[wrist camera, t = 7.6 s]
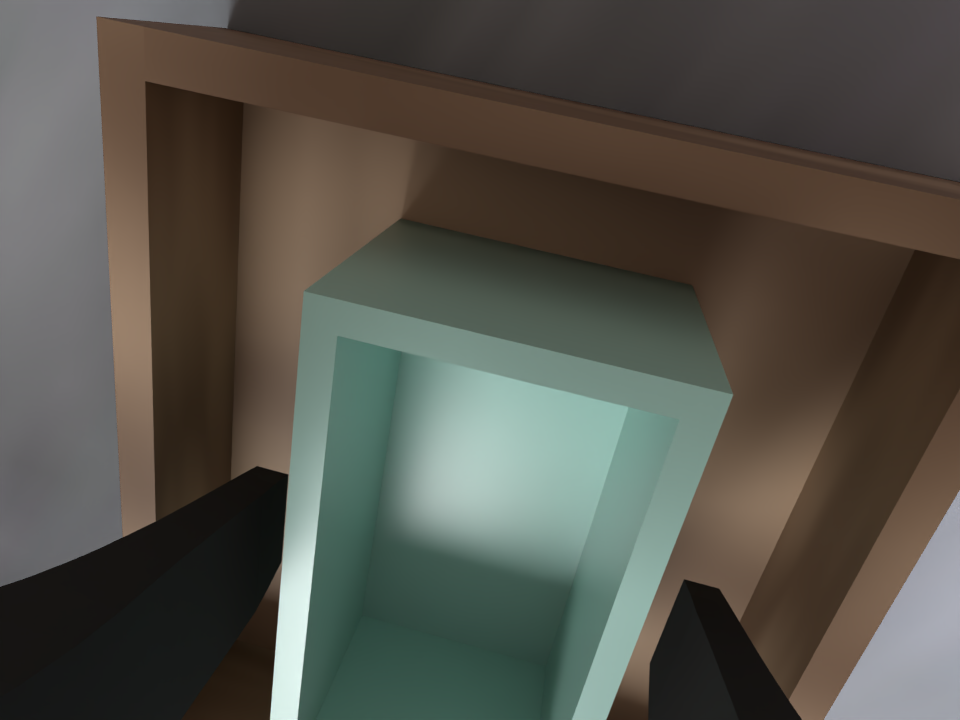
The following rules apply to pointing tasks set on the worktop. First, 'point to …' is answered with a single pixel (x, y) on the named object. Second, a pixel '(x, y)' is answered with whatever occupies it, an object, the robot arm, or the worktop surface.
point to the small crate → (484, 478)
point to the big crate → (555, 229)
